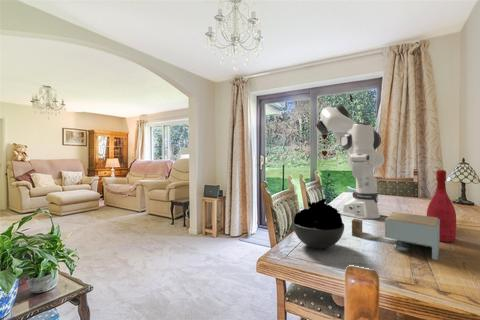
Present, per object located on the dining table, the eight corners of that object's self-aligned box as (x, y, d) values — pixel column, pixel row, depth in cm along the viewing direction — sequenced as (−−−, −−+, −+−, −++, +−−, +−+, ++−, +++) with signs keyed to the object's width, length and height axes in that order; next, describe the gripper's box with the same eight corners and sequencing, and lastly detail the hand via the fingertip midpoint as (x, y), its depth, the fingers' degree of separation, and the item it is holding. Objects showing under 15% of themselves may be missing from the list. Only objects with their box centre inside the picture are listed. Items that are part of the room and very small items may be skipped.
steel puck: (392, 250, 93) (392, 245, 93) (395, 246, 97) (395, 241, 97) (408, 253, 90) (408, 248, 90) (410, 249, 94) (410, 244, 94)
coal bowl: (315, 261, 84) (314, 208, 84) (283, 242, 103) (282, 199, 102) (356, 251, 92) (356, 203, 92) (319, 235, 111) (319, 195, 110)
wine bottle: (449, 236, 107) (449, 169, 106) (461, 244, 98) (461, 170, 97) (422, 234, 110) (423, 169, 110) (432, 241, 101) (432, 170, 100)
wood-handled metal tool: (351, 235, 110) (351, 220, 110) (354, 233, 113) (354, 218, 113) (396, 244, 99) (396, 227, 98) (398, 242, 101) (398, 225, 101)
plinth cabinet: (385, 248, 95) (384, 218, 94) (391, 238, 105) (391, 211, 105) (437, 260, 84) (437, 225, 84) (439, 248, 94) (439, 217, 94)
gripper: (362, 156, 121) (363, 184, 121) (349, 157, 105) (349, 188, 105) (376, 156, 116) (377, 185, 116) (364, 157, 101) (365, 189, 101)
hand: (364, 186), depth 111 cm, fingers open, 8 cm apart
